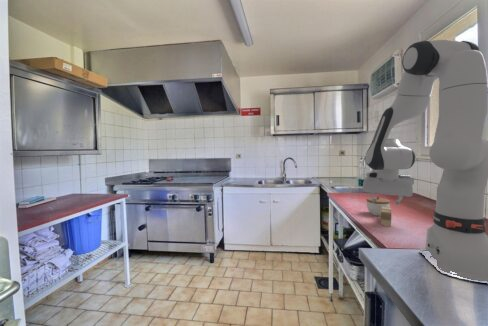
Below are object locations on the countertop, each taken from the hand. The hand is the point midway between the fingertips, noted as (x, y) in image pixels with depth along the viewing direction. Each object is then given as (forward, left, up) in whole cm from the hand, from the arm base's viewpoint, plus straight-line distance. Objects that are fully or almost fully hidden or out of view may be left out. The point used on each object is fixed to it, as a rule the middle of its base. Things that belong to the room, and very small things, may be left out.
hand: (385, 203), depth 114 cm
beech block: (0, 0, -9) cm, 9 cm away
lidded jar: (+13, +3, -9) cm, 16 cm away
